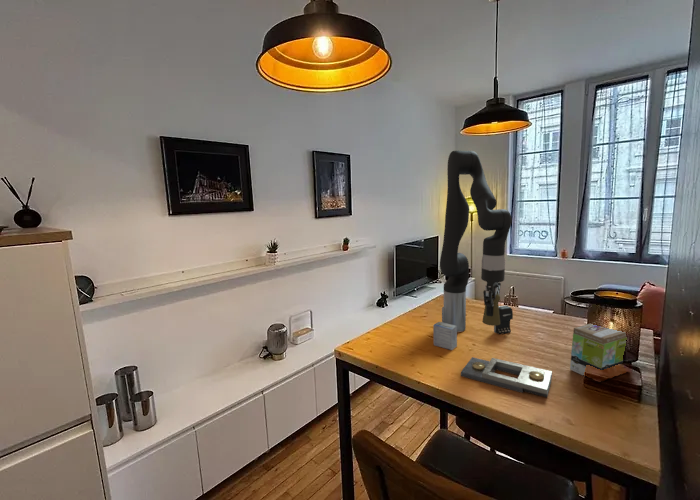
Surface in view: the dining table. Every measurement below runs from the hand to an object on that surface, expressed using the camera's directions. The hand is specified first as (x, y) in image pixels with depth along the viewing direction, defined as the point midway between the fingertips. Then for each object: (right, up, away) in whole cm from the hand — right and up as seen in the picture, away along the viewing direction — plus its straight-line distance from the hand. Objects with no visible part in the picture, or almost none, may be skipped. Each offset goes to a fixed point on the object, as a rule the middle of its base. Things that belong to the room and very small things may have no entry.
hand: (491, 313), depth 124 cm
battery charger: (+14, -12, +21) cm, 28 cm away
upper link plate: (+2, -18, -15) cm, 24 cm away
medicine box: (-13, -15, +12) cm, 23 cm away
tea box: (+30, -17, -12) cm, 37 cm away
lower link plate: (-4, -18, -11) cm, 22 cm away
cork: (0, -3, +1) cm, 4 cm away
